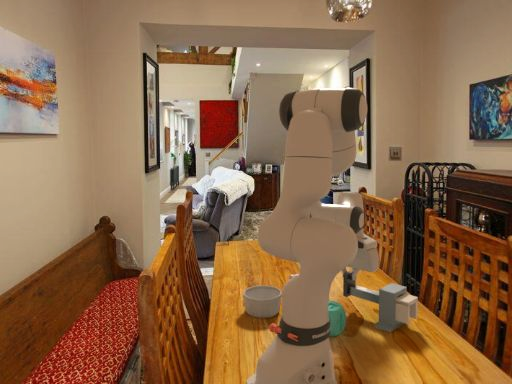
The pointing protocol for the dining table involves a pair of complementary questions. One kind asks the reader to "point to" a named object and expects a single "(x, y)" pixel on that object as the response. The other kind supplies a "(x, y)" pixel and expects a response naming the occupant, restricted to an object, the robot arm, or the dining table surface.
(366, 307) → the dining table surface
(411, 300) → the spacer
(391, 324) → the bearing block
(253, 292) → the ramekin
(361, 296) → the shaft
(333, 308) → the decorative dice
